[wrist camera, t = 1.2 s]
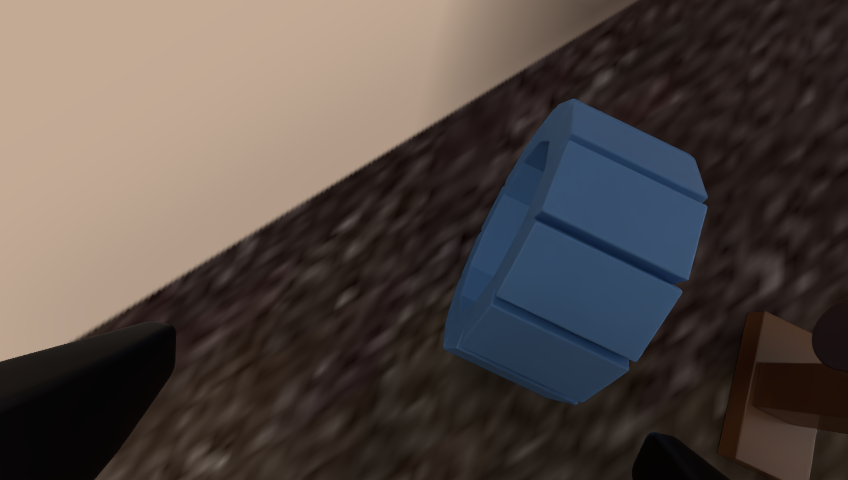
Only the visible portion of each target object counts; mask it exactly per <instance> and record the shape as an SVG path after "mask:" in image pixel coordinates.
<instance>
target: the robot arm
mask: <svg viewBox="0 0 848 480" xmlns="http://www.w3.org/2000/svg"><path fill="white" fill-rule="evenodd" d="M175 352H176V330H175V328H174V327H173V326H172V325H169V324H165V323H160V322H156V321H148V322H145V323H141V324H137V325H134V326H130V327H126V328H123V329H119V330H115V331H112V332H108V333H104V334H100V335H97V336H93V337H89V338H86V339H82V340H78V341H75V342H71V343H67V344H64V345H60V346H56V347H53V348H49V349H45V350H42V351H38V352H34V353H30V354H27V355H23V356H19V357H16V358H12V359H8V360H5V361H2V362H0V480H94V479H95V478H96V477H97V476H98V475H99V473H100V472H101V471H102V470H103V469H104V467H105V466H106V465H107V464H108V463H109V461H110V460H111V459H112V458H113V457H114V455H115V454H116V453H117V452H118V450H119V449H120V448H121V446H122V445H123V444H124V442H125V441H126V440H127V438H128V437H129V435H130V434H131V432H132V431H133V430H134V428H135V427H136V425H137V424H138V422H139V421H140V419H141V418H142V417H143V415H144V414H145V412H146V411H147V409H148V408H149V406H150V405H151V404H152V402H153V401H154V399H155V398H156V396H157V395H158V393H159V392H160V391H161V389H162V388H163V386H164V385H165V383H166V382H167V380H168V379H169V377H170V376H171V374H172V372H173V369H174V366H175ZM632 478H633V480H730V479H728V478H727V477H726V476H725V475H723V474H722V473H721V472H719V471H718V470H717V469H716V468H714V467H713V466H712V465H710V464H709V463H708V462H707V461H705V460H704V459H703V458H701V457H700V456H699V455H697V454H696V453H695V452H694V451H692V450H691V449H690V448H688V447H687V446H686V445H685V444H683V443H682V442H681V441H679V440H678V439H677V438H675V437H673V436H670V435H665V434H660V433H656V432H653V433H650V434H649V435H648V436H647V437H646V439H645V441H644V443H643V445H642V447H641V449H640V451H639V454H638V456H637V458H636V460H635V462H634V465H633V469H632Z"/></svg>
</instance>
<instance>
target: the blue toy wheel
mask: <svg viewBox="0 0 848 480" xmlns="http://www.w3.org/2000/svg"><path fill="white" fill-rule="evenodd" d="M706 199H707V194H706V191H705V188H704V185H703V182H702V179H701V176H700V173H699V170H698V167H697V164H696V161H695V159H694V158H693V157H691V156H690V154H688V153H686V152H684V151H682V150H679V149H677V148H675V147H673V146H671V145H669V144H667V143H665V142H663V141H661V140H659V139H657V138H655V137H653V136H650V135H648V134H646V133H644V132H642V131H640V130H638V129H636V128H634V127H632V126H630V125H628V124H626V123H623V122H621V121H619V120H617V119H615V118H613V117H611V116H609V115H607V114H605V113H603V112H601V111H599V110H596V109H594V108H592V107H590V106H588V105H586V104H584V103H582V102H580V101H578V100H576V99H571V100H569V101H566V102H564V103H561V104H559V105H558V106H557V108H555V109H554V110H553V111H552V112H551V114H550V115H549V116H548V118H547V119H546V120H545V121H544V123H543V124H542V125H541V127H540V128H539V129H538V130H537V132H536V133H535V134H534V136H533V137H532V140H531V142H529V143H528V145H527V146H526V148H525V150H524V151H523V153H522V155H521V156H520V158H519V160H518V161H517V163H516V165H515V166H514V168H513V170H512V171H511V173H510V175H509V176H508V178H507V180H506V183H505V186H503V187H502V189H501V191H500V193H499V195H498V197H497V199H496V201H495V202H494V204H493V206H492V208H491V210H490V212H489V214H488V216H487V218H486V220H485V222H484V224H483V226H482V232H481V233H480V234H479V235H478V237H477V239H476V241H475V244H474V246H473V248H472V251H471V253H470V255H469V258H468V260H467V262H466V265H465V267H464V269H463V272H462V274H461V276H462V277H461V278H460V280H459V282H458V285H457V288H456V291H455V294H454V297H453V300H452V303H451V306H450V309H449V312H448V315H447V320H446V324H445V334H444V344H443V347H444V350H446V351H448V352H450V353H452V354H454V355H457V356H459V357H461V358H463V359H465V360H467V361H469V362H471V363H474V364H476V365H478V366H480V367H482V368H484V369H486V370H488V371H491V372H493V373H495V374H497V375H499V376H501V377H503V378H505V379H507V380H510V381H512V382H514V383H516V384H518V385H520V386H522V387H524V388H527V389H529V390H531V391H533V392H535V393H537V394H539V395H541V396H544V397H546V398H548V399H553V400H557V401H561V402H566V403H570V404H574V405H577V403H578V401H579V402H581V403H583V402H585V401H586V400H587V399H589V398H590V397H592V396H593V395H595V394H596V393H597V392H599V391H600V390H602V389H603V388H605V387H606V386H608V385H609V384H610V383H612V382H613V381H615V380H616V379H618V378H619V377H620V376H622V375H623V374H625V373H626V372H628V371H629V360H632V361H634V362H637V361H638V359H639V358H640V356H641V355H642V353H643V352H644V350H645V349H646V347H647V346H648V344H649V343H650V341H651V340H652V338H653V337H654V335H655V334H656V332H657V330H658V329H659V327H660V326H661V324H662V323H663V321H664V320H665V318H666V317H667V315H668V314H669V312H670V311H671V309H672V308H673V306H674V305H675V303H676V301H677V300H678V298H679V297H680V295H681V294H682V290H681V289H679V288H678V287H676V286H675V285H673V284H674V283H679V282H683V281H687V280H688V279H689V276H690V272H691V268H692V264H693V260H694V256H695V253H696V249H697V245H698V241H699V237H700V234H701V230H702V226H703V222H704V218H705V214H706V211H707V206H706V205H704V204H702V203H703V202H704V201H705V200H706Z"/></svg>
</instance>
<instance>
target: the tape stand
mask: <svg viewBox="0 0 848 480" xmlns="http://www.w3.org/2000/svg"><path fill="white" fill-rule="evenodd" d="M817 429H820V430H826V431H832V432H838V433H845V434H848V300H845V301H842V302H840V303H838V304H836V305H834V306H832V307H831V308H830V309H828V310H827V311H826V312H825V313H824V314H823V315H822V316H821V317H820V319H819V320H818V321H817V323H816V325H815V327H814V330H813V334H812V333H810V332H808V331H806V330H804V329H802V328H800V327H798V326H795V325H793V324H791V323H789V322H787V321H785V320H783V319H781V318H779V317H777V316H775V315H772V314H770V313H768V312H766V311H762V312H753V313H748V314H747V318H746V322H745V327H744V332H743V336H742V341H741V346H740V350H739V355H738V360H737V364H736V369H735V374H734V379H733V383H732V388H731V393H730V397H729V402H728V407H727V411H726V416H725V421H724V425H723V430H722V435H721V439H720V444H719V449H718V454H719V455H721V456H723V457H725V458H728V459H730V460H732V461H734V462H736V463H738V464H740V465H742V466H745V467H747V468H749V469H751V470H753V471H755V472H757V473H759V474H761V475H764V476H766V477H768V478H770V479H772V480H809V478H810V471H811V464H812V458H813V451H814V444H815V438H816V431H817Z"/></svg>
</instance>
